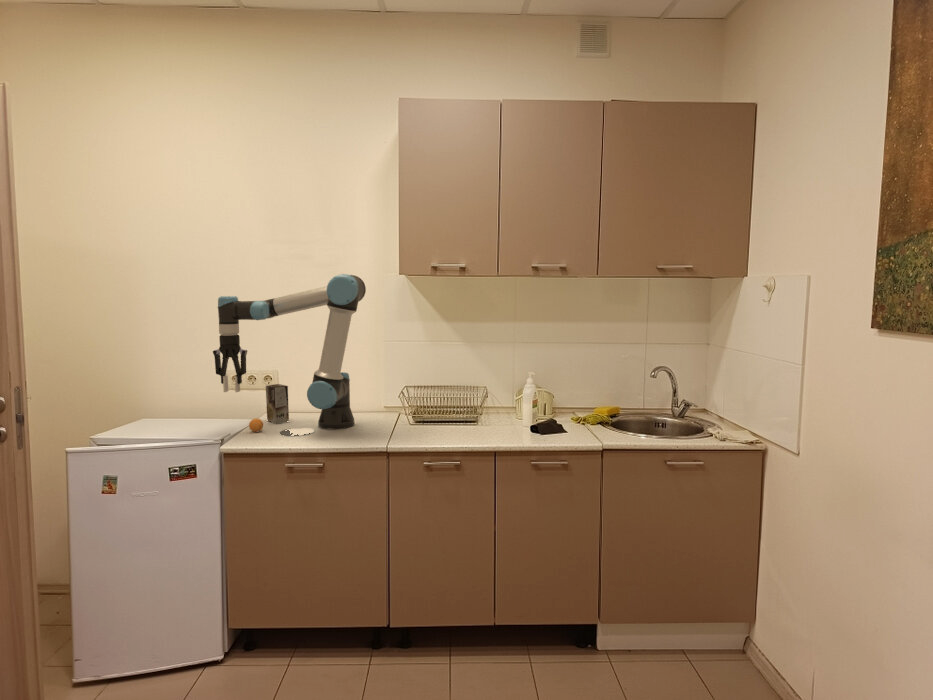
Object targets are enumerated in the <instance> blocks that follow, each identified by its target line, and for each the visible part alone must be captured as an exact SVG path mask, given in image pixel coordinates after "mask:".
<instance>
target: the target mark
mask: <svg viewBox="0 0 933 700" xmlns="http://www.w3.org/2000/svg"><path fill="white" fill-rule="evenodd" d="M287 429H288V428H287ZM287 429H283V430H281V431H279V433H280V434H281V435H280V434H279V435H280V436H283V435H284V437H292V436H291V435H292V434H293V433H291V434H290V431H289V430H287ZM285 430H287V431H285ZM308 435H311V434H310V433H309V434H308ZM303 436H307V435H306V434H304V435H303ZM293 437H300V436H299V435H298V434H297V435H294V436H293Z"/></svg>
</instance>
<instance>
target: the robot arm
mask: <svg viewBox="0 0 933 700" xmlns="http://www.w3.org/2000/svg"><path fill="white" fill-rule="evenodd" d="M366 291H367V290H366V285H365V282H364V281H363V279H362V278H360V277H359V276H357V275H353V274H346V273H342V274H338V275H335V276H333V277H332V278H331V279H330V280H329V281H328V283H327V285H326V286H323V287H318V288H313V289H310V290H309V289H308V290H305V291H301V292H297V293H293V294H287V295H282V296H278V297H276V298H275V297H274V298H269V299H266V300H244V301H243V300H239V298H238V296H234V295H231V296H230V295H229V296H228V295H227V296H225V295H224V296H221V295H220V296H219V297H218V298H217V309H218V310H217V311H218V333H219V348H218V349H215V350H213V351H212V354H213V356H214V366H215V368H214V369H215V374H216V375H219V376H220V381H221V382H220V383H221V385H223V386H222V387H223V388H222V389H223V393H227V392H229V376H228V374H227V369H228V364H229V359H230V358H231V360H232V362H233V366H234V371H235V374H236V375H235V376H234V387H235V388H234V391H235V393H238V392H241V384H243V379H242V377H243V376H244V375H245V374H247V354H248V350H247V349H243V348H242V347H241V346H240V343H241V342H240V341H241V340H240V335H239V334H240V324H239V323H240V321H243V320H244V321H263V320H265V321H266V319H272V318H275V317H279V316H282V315H288V314H291V313H292V314H293V313H297V312H301V311H306V310H311V309H314V308H319V307H323V306H326V307H327V308H328V310H329V315H328V319H327V324H326V330H325V335H324V340H323V347H322V351H321V356H320V362H319V367H318V369H317V370H315V371H314V372H313V377H312V383H311V384H309V387H308V389H307V391H306V397H307V398H306V399H307V400H308V402H309V404H310V405H311V406H312V407H314V408H315V409H319V410H321V411H320V414H319V417H318V422H317V423H318V424H317V425H318V428H320V429H323V428H324V430H340V429H341V430H342V429H349V428H352V427H353V426H355V425H354V424H355V417H354V414H353V411H352V409H351V397H350V396H351V395H350V393H351V392H350V391H351V388H350V384H351V383H350V381H351V379H350V375H349V373H348V372H344V371H343V372H341V371H342V368H343V362H344V356H345V351H346V346H347V342H348V335H349V331H350V326H351V325H350V324H351V321H352V317H353V315H354V313H356V312H357V310H358V305H359V302H360V301H362V300H363V299H364V297H365V295H366ZM239 353H240V361H239ZM221 354H222V358H221ZM221 360H222V362H221Z"/></svg>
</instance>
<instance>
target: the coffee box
mask: <svg viewBox="0 0 933 700" xmlns="http://www.w3.org/2000/svg"><path fill="white" fill-rule="evenodd" d="M265 399H266V401H265V402H266V421H267V420H268V421H267V422H269V421H271V422H270V423H272V422H273V423H272V424H275V423H279V424H283V423H282V422H286V423H288V422H287V421H289V422H290V415H289V414H290V413H289V411H290V410H289V386H288V385H285V384H280V383H276V384H270V385H269V384H268V385H265Z"/></svg>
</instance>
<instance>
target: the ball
mask: <svg viewBox="0 0 933 700" xmlns="http://www.w3.org/2000/svg"><path fill="white" fill-rule="evenodd" d="M248 427H249V430H250V431H252V432H254V433H257V432H258V431H259V432H260V431H263V430H262V429H263V428H264V422H263V421H262V419H260V418H257V417H256V418H253V419H251V420H250V421H249V424H248Z"/></svg>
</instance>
